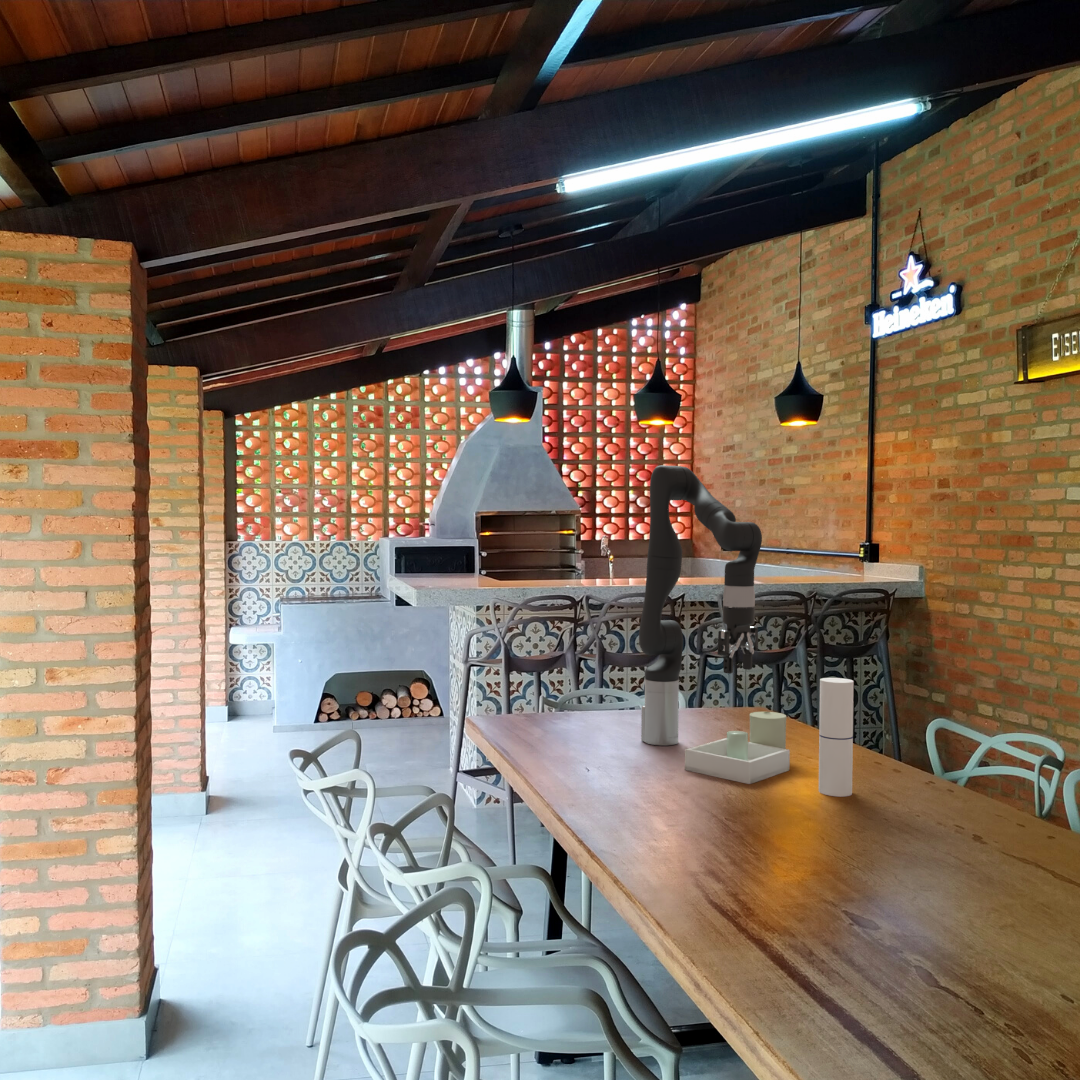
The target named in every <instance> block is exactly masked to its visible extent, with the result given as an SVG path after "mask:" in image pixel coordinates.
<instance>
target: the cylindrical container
mask: <svg viewBox="0 0 1080 1080" xmlns="http://www.w3.org/2000/svg"><path fill="white" fill-rule="evenodd" d="M854 682H855V681H854V680H852V679H849V678H842V677H822V678H820V679H819V724H818V725H819V731H818V732H819V734H818V735H819V737H818V738H819V739H818V740H819V743H818V747H819V748H818V792H819V793H820V794H822V795H826V796H830V797H841V798H842V797H850V796H852V795H853V758H854V757H853V753H854V752H853V749H854V748H853V747H854V746H853V745H854V743H853V742H854Z"/></svg>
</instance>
